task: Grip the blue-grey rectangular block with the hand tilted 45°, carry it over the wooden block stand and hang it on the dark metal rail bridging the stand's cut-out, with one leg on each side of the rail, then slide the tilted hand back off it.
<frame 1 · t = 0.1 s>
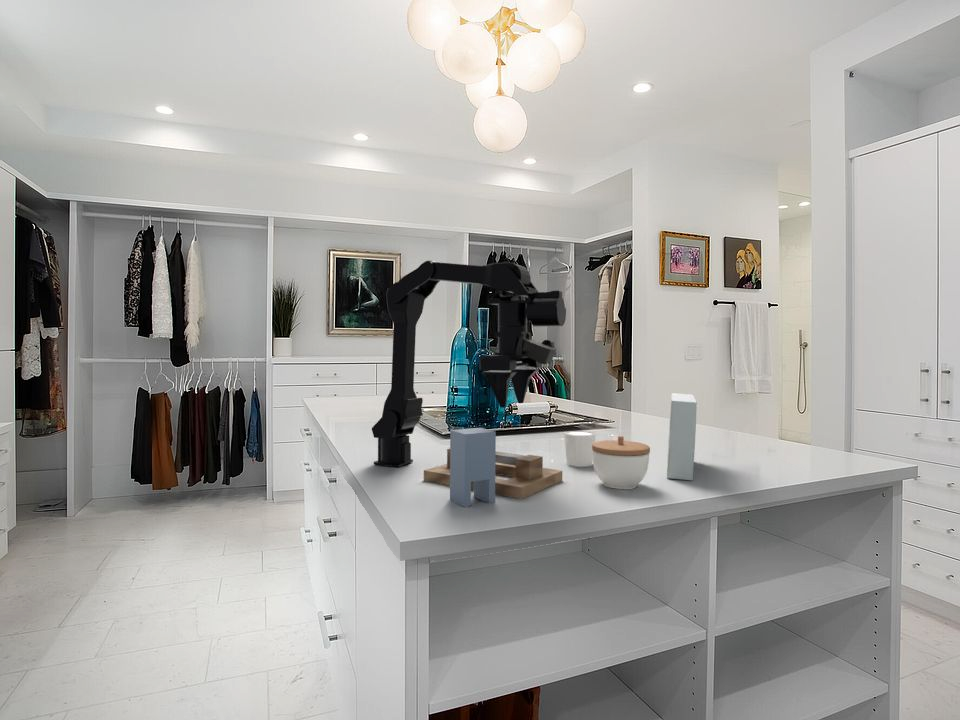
hand: (512, 405, 112), 15 cm above the countertop, tool pointing down, fingers open, 9 cm apart
skincare box: (680, 470, 122), on the countertop
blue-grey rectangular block: (472, 500, 96), on the countertop
lidded jar: (619, 486, 108), on the countertop
white cup: (579, 464, 126), on the countertop
wooden block stand: (493, 480, 110), on the countertop
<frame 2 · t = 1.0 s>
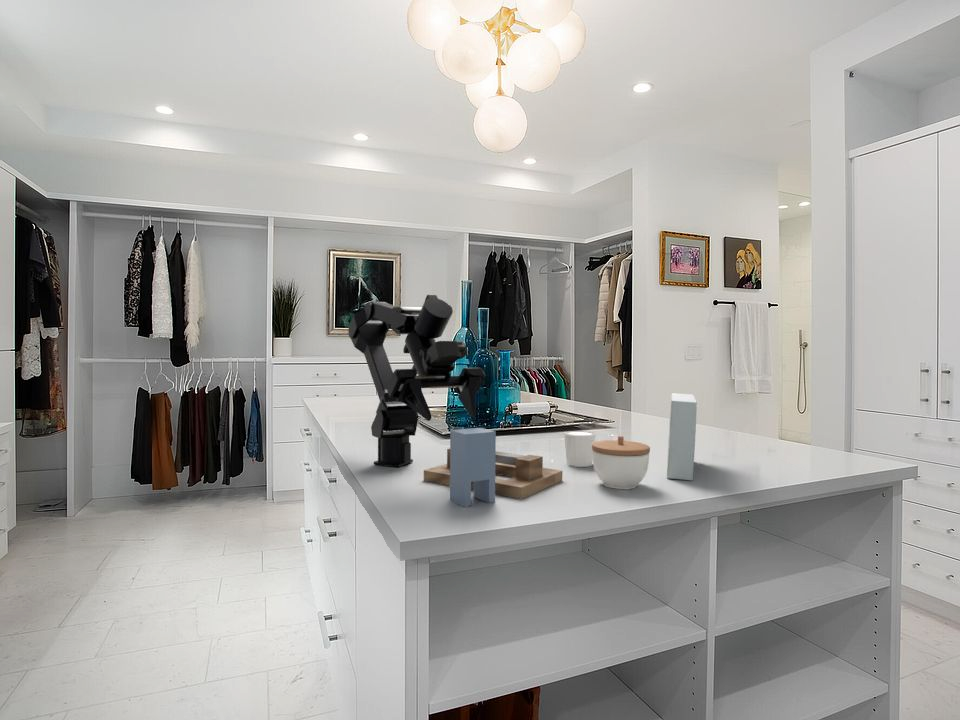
hand: (452, 417, 102), 13 cm above the countertop, tool tilted 45°, fingers open, 9 cm apart
nothing on the countertop moved.
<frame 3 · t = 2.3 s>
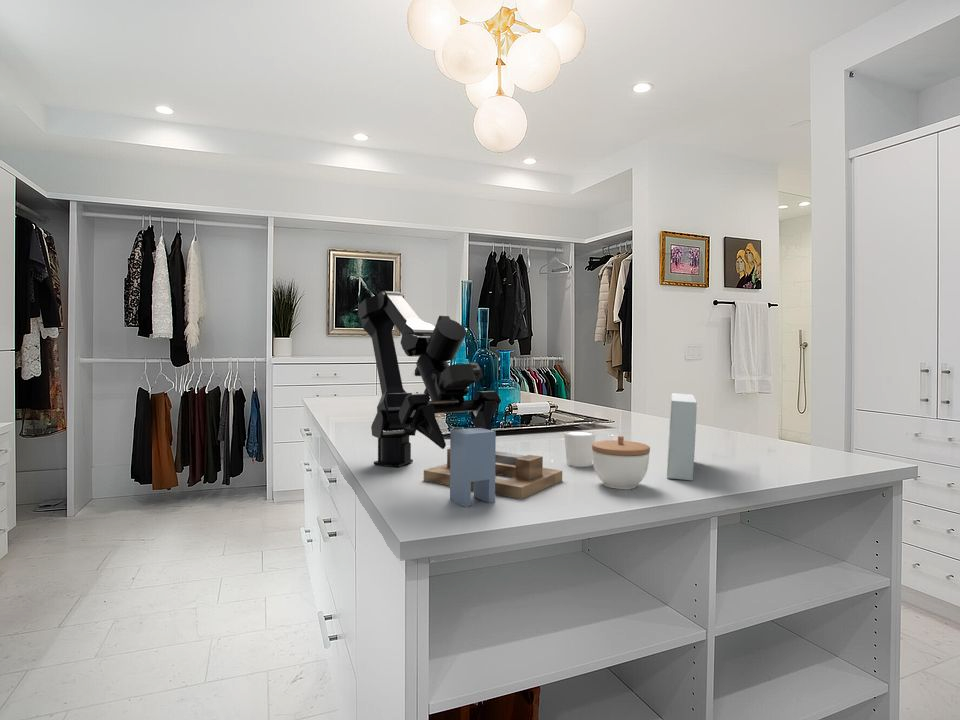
hand: (467, 444, 97), 9 cm above the countertop, tool tilted 45°, fingers open, 9 cm apart
nothing on the countertop moved.
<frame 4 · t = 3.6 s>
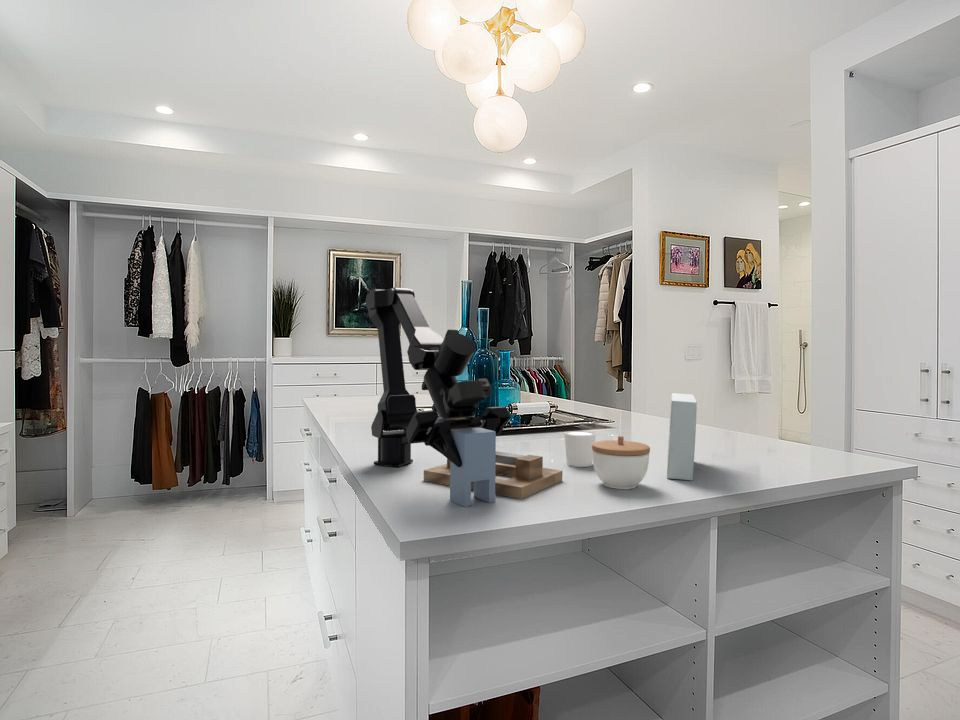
hand: (476, 463, 95), 7 cm above the countertop, tool tilted 45°, fingers closed on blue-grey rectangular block, 6 cm apart
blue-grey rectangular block: (472, 500, 96), on the countertop, touching gripper
everything else where it was.
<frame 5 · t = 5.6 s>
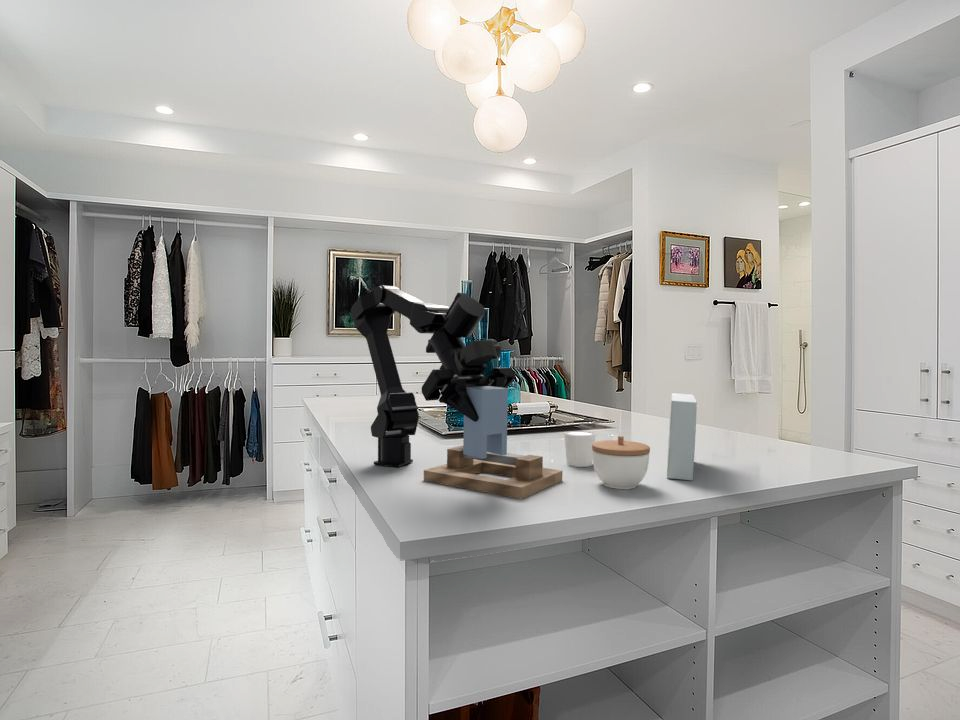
hand: (490, 418, 100), 13 cm above the countertop, tool tilted 45°, fingers closed on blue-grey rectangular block, 6 cm apart
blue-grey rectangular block: (484, 454, 101), point 7 cm above the countertop, touching gripper
everything else where it was.
when the fingers open (9 cm above the countertop, at t = 7.8 s): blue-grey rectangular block stays where it is, resting on wooden block stand.
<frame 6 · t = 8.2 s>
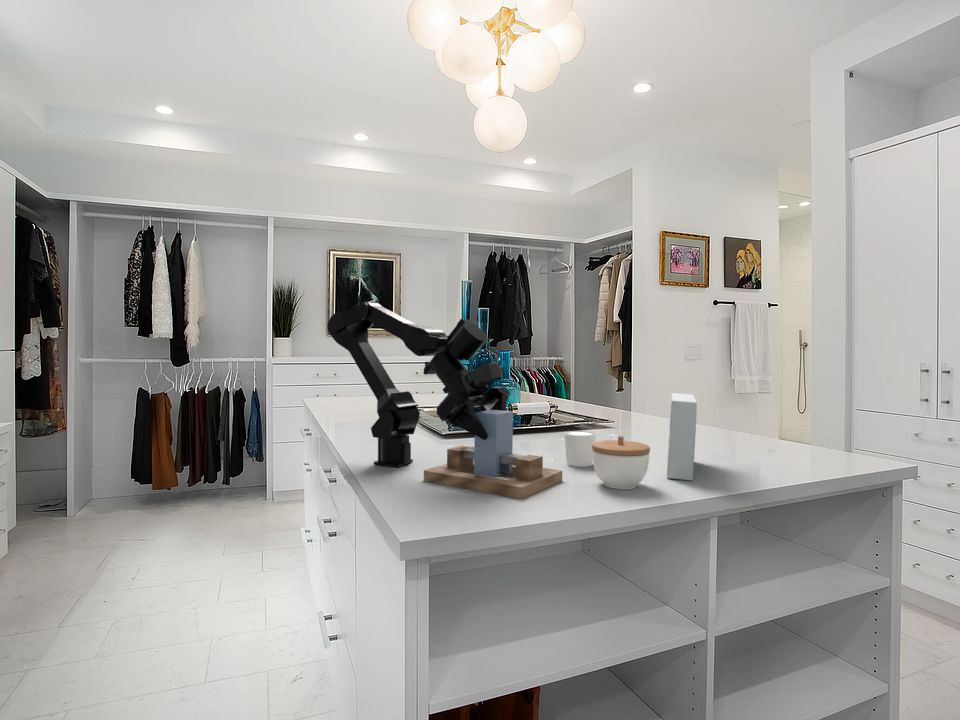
hand: (499, 435, 109), 9 cm above the countertop, tool tilted 45°, fingers open, 9 cm apart
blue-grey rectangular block: (493, 473, 110), point 1 cm above the countertop, touching wooden block stand
everything else where it was.
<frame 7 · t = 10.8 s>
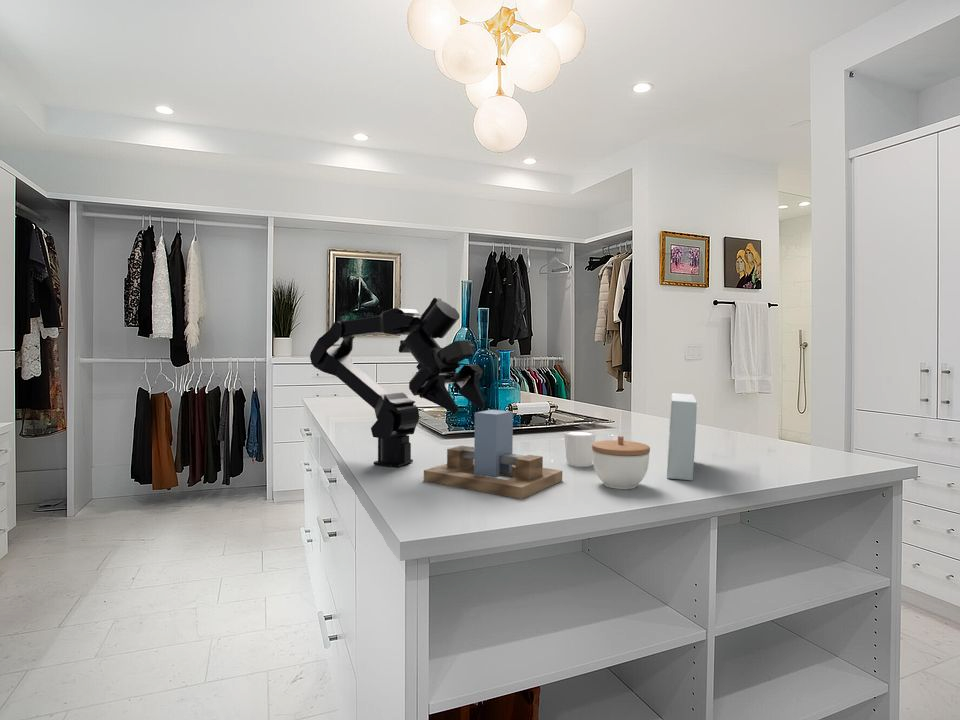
hand: (470, 409, 113), 14 cm above the countertop, tool tilted 45°, fingers open, 9 cm apart
nothing on the countertop moved.
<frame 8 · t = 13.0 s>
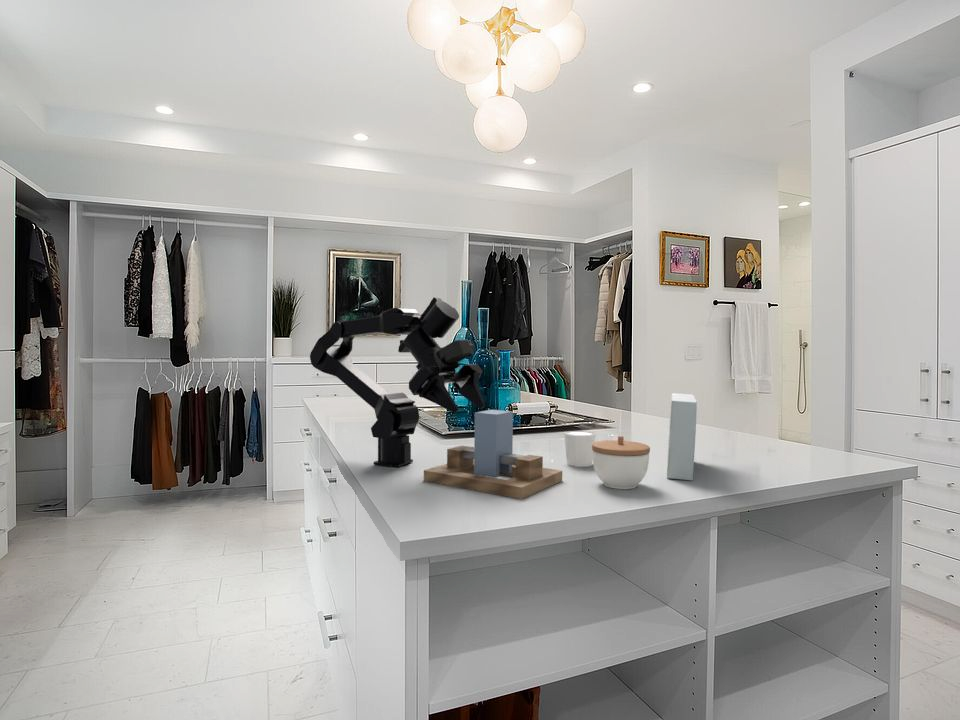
hand: (470, 409, 113), 14 cm above the countertop, tool tilted 45°, fingers open, 9 cm apart
nothing on the countertop moved.
at the end: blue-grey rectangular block inside the target area on the wooden block stand (0.0 cm from its centre), point 1.5 cm above the wooden block stand's base; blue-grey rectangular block tilted 0°; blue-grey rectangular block touching wooden block stand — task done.
